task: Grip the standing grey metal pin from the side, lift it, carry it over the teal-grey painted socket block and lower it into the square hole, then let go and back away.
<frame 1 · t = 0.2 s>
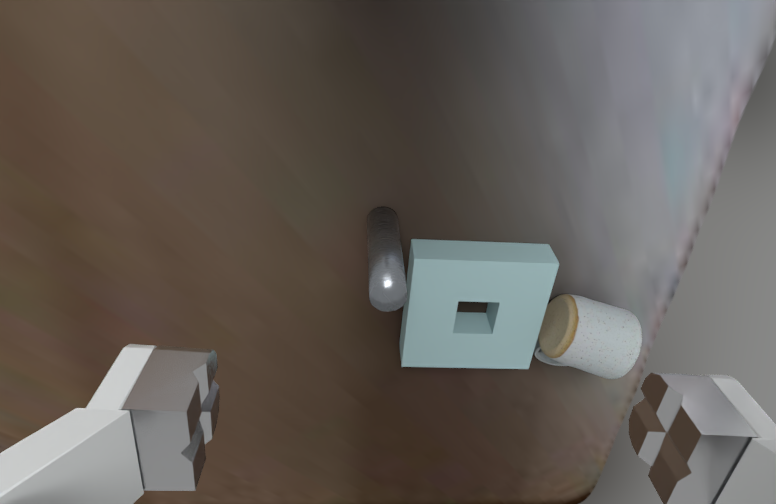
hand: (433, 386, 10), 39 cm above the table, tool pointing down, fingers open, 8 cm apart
ceramic mug: (570, 320, 62), on the table
pin: (382, 220, 53), on the table
socket block: (469, 297, 59), on the table
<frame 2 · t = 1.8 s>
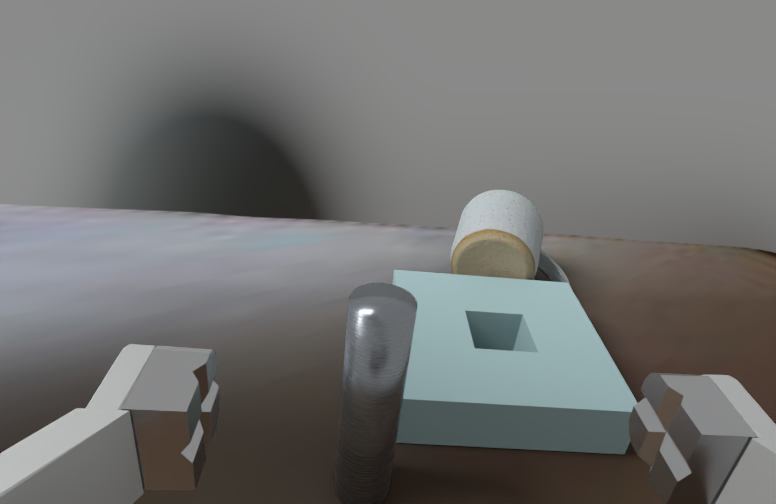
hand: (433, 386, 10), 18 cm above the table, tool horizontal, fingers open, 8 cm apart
ceramic mug: (503, 286, 50), on the table
pin: (361, 484, 30), on the table
socket block: (490, 369, 39), on the table
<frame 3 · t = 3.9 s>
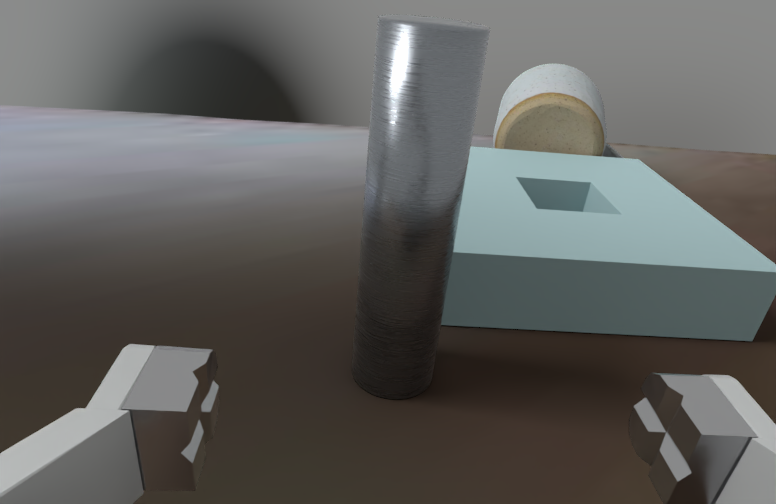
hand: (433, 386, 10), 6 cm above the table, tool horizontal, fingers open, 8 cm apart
ceramic mug: (555, 184, 40), on the table
pin: (392, 370, 20), on the table
socket block: (550, 254, 30), on the table
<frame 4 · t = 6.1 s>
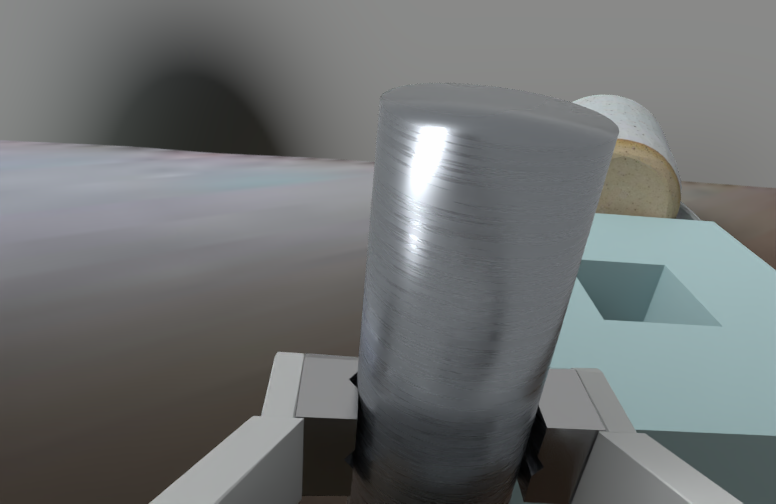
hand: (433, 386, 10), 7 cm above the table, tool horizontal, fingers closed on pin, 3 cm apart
ceramic mug: (606, 243, 33), on the table
socket block: (610, 363, 22), on the table
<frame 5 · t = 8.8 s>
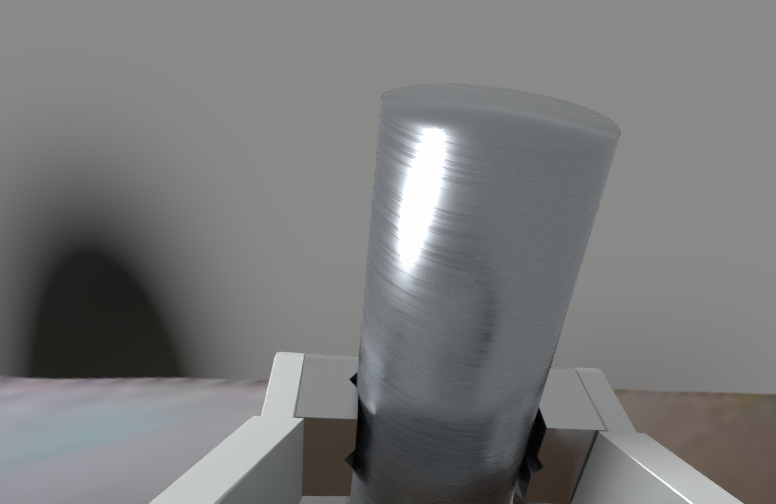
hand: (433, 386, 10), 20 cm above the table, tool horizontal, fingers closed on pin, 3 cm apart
when the fingers open (8 cm above the table, at t = 11.7 s): pin drops 1 cm, resting in socket block.
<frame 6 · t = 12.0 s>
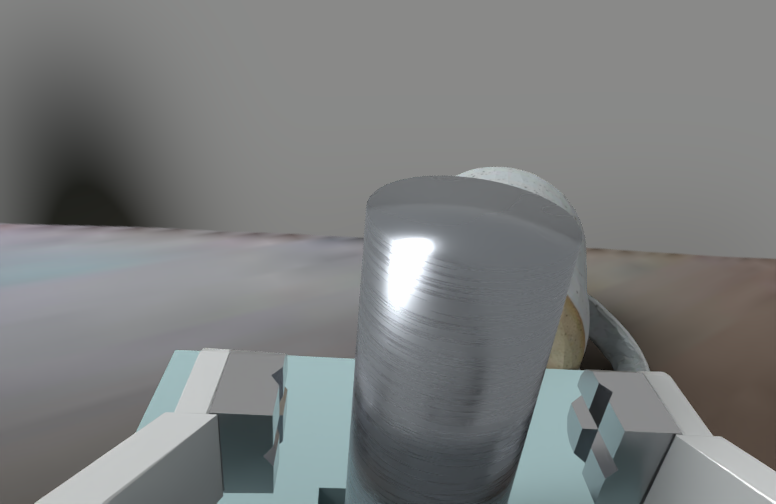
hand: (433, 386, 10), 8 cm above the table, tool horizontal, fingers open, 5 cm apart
ceramic mug: (505, 367, 24), on the table
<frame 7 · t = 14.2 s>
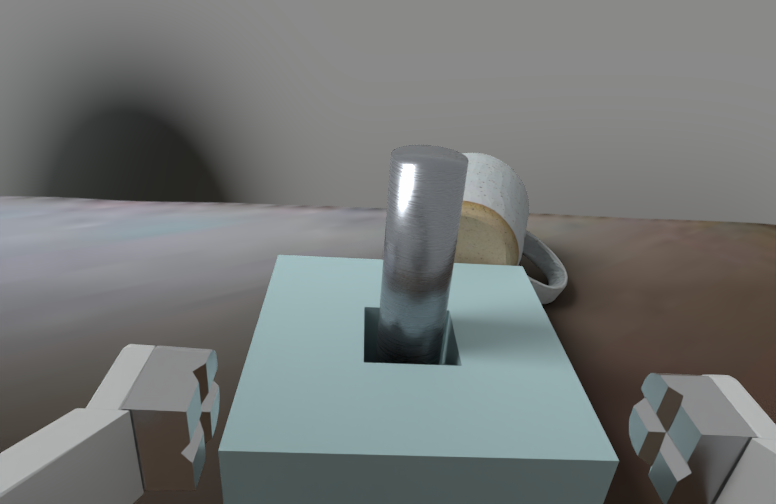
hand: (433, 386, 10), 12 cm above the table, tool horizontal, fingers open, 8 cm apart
ceramic mug: (479, 281, 38), on the table
pin: (403, 393, 27), resting in socket block
socket block: (403, 392, 27), on the table
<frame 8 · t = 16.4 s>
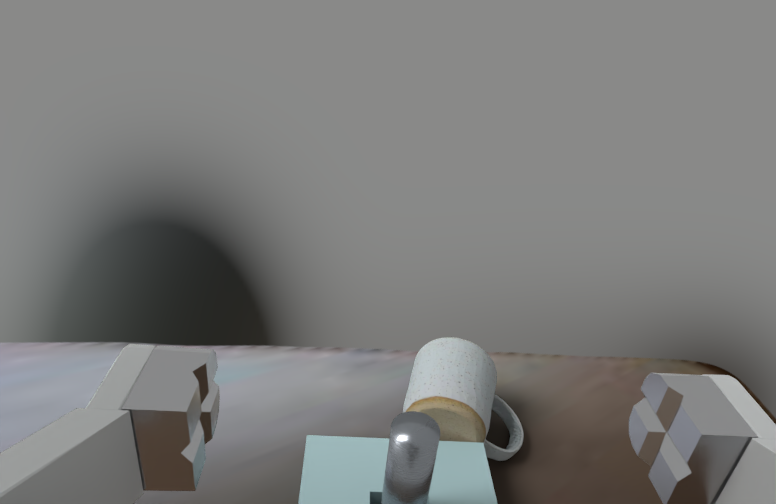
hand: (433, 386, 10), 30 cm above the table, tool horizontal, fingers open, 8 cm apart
ceramic mug: (458, 432, 50), on the table
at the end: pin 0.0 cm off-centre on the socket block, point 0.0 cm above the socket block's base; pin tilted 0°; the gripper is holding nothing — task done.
